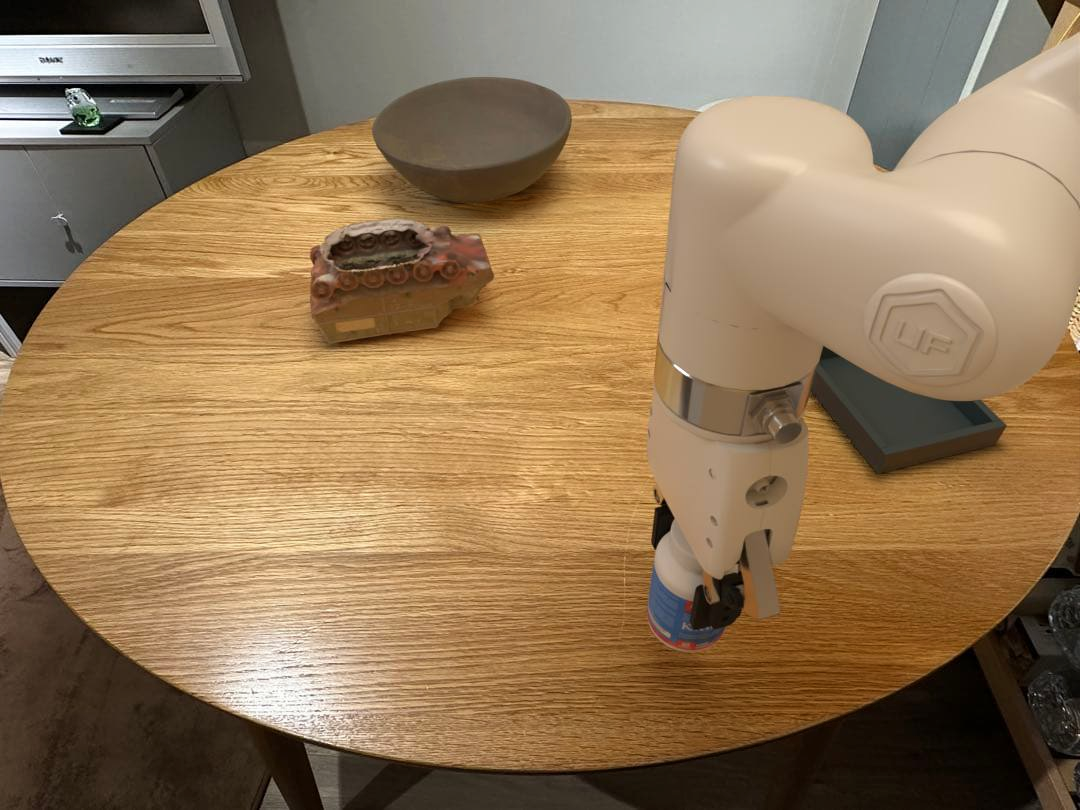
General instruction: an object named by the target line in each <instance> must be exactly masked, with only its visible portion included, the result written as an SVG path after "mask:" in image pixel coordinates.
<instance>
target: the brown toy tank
mask: <svg viewBox="0 0 1080 810" xmlns="http://www.w3.org/2000/svg"><path fill="white" fill-rule="evenodd" d="M323 241H324V242H322V243H321V244H317V245H315V246H313V247H311V248H310V252H309V259H310V261H311V263H312V268H311V269H310V285H309V286H310V290H309V292H310V296H309V302H310V304H309V305H310V314H311V315H310V316H311V319H312V320H314V322H315V324H316V325H317V327H318V328H319V330H320V332H321V333H322V334H323V338H324V340H325V341H326V342H327V343H328V344H330V345H332V344H335V343H341V342H348V341H355V340H359V339H365V338H373V337H379V336H384V335H385V336H386V335H388V336H389V335H392V334H399V333H406V332H414V331H420V330H427V329H428V330H429V329H434V328H436V329H437V328H438V327H439V326H440V323H441V322H442V320H443V319H444V318H447V317H448V316H449V315H450V314H452V312H453V310H456V309H463V308H469V307H471V306H474V305H475V304H476V303H477V302H478V301H480V296H479V294H480V292H481V291H482V289H483V288H485V287H487V285H488V284H490V283H491V282H492V281H494V278H495V274H494V271H493V269H492V265H491V263H490V259H489V256H488V254H487V251H486V250H487V249H486V248H485V246H484V242H483V239H482V235H480V233H467V234H466V233H465V234H458V235H454V234H452V229H450V227H449V226H448V225H447V224H440V225H437V226H430V227H429V226H427V225H425V223H424V222H420V221H418V220H415V219H409V218H406V217H405V218H402V217H391V218H380V219H376V220H364V221H360V222H355V223H352V224H349V225H343V226H342V227H339V228H338V229H335V230H334V231H331V232H330V233H329V234H328V235H326V236H325V237H324V240H323Z"/></svg>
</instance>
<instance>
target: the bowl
mask: <svg viewBox="0 0 1080 810" xmlns="http://www.w3.org/2000/svg"><path fill="white" fill-rule="evenodd" d="M572 120H573V116H572V109H571V107H570V105H569V104H568V102H567V101H566V99H565V98H563V97H562V96H561V95H560V94H559V93H557V92H556V91H555V90H552V89H550V88H548V87H545V86H543V85H539V84H537V83H534V82H531V81H527V80H523V79H518V78H510V77H501V76H500V77H498V76H471V77H460V78H459V77H458V78H453V79H447V80H443V81H439V82H436V83H431V84H427V85H425V86H422V87H419V88H416V89H413V90H411V91H409V92H407V93H405V94H403V95H401V96H399V97H397V99H394V100H393V101H391V103H389V104H388V105H387V106H386V107H384V109H382V111H380V112H379V114H378V115H377V116H376V118H375V119H374V121H373V123H372V127H371V134H372V138H373V140H374V143H375V145H376V147H377V149H378V150H379V152H380V153H381V155H382V156H383V158H384V159H385V161H387V163H388V164H389V165H390V166H391V167H392V168H393V169H394V170H395V171H396V172H397V173H398V174H399V175H400V176H401V177H402V178H403V179H405V180H406V181H407V182H408V183H410V184H411V185H413V186H414V187H416V188H417V189H419V190H422V191H423V192H425V193H427V194H429V195H431V196H434V197H437V198H439V199H441V200H445V201H448V202H452V203H455V204H465V205H466V204H467V205H469V204H471V205H472V204H474V205H475V204H483V203H488V202H493V201H498V200H501V199H505V198H507V197H510V196H513V195H516V194H517V193H519V192H522V191H524V190H525V189H527V188H528V187H530V186H531V185H533V184H535V183H536V182H537V181H538V180H539V179H540V178H541V177H542V176H543V175H545V173H546V172H547V171H548V170H549V169H550V168H551V167H552V165H553V164H554V163H555V162H556V161H557V159H558V157H559V156H560V155H561V153H562V152H563V149H564V147H565V146H566V144H567V141H568V139H569V135H570V131H571V128H572V122H573V121H572Z"/></svg>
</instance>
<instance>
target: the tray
mask: <svg viewBox="0 0 1080 810" xmlns="http://www.w3.org/2000/svg"><path fill="white" fill-rule="evenodd" d="M811 392H812V394H813V395H814V397H815V398H816V399H817V400H818V401H819V402H820V405H822V407H823V408H824V409H825V410H826V411H827V413H828V414H829V415H830V417H831V418H832V419H833V420H834V422H835V423H836V424H837V425H838V427H839V428H840V429H841V430H842V432H843V433H844V434H845V436H846V437H847V438H848V439H849V441H850V442H851V444H853V446H854V447H855V448H856V449H857V451H858V452H859V453H860V455H861V456H862V457H863V458H864V459H865V460H866V462H867V463H868V464H869V466H870V467H871V468H872V470H874V472H875V473H876V474H877V475H879V474H883V473H887V472H891V471H895V470H899V469H903V468H907V467H911V466H916V465H919V464H924V463H929V462H931V461H935V460H936V461H937V460H940V459H944V458H947V457H952V456H955V455H960V454H963V453H967V452H968V453H969V452H972V451H976V450H981V449H983V448H984V449H985V448H988V447H991V446H992V447H993V446H996V445H997V443H998V441H999V440H1000V438H1001V437H1002V435H1003V433H1004V432H1005V430H1006V428H1007V427H1008V425H1007V424H1006V423H1005V422H1004V421H1003V420H1002V419H1001V418H1000V417H999V416H998V415H997V414H996V413H995V412H994V411H993V410H992V409H991V408H990V406H989V407H988V405H987V404H986V403H985V402H984V401H983V400H982V399H981V400H974V401H950V400H942V399H935V398H931V397H928V396H924V395H920V394H916V393H913V392H909V391H907V390H905V389H902V388H900V387H898V386H895V385H893V384H890V383H888V382H886V381H884V380H882V379H880V378H878V377H876V376H874V375H872V374H871V373H869V372H867V371H865V370H863V369H862V368H860V367H858V366H857V365H855V364H853V363H851V362H850V361H848V360H846V359H845V358H843V357H841V356H840V355H838V354H836V353H835V352H833V351H831V350H830V349H828V348H826V347H825V346H823V349H822V352H821V356H820V361H819V364H818V368H817V371H816V375H815V378H814V382H813V385H812V389H811Z"/></svg>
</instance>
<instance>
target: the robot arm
mask: <svg viewBox="0 0 1080 810" xmlns="http://www.w3.org/2000/svg"><path fill="white" fill-rule="evenodd" d="M870 141H871V140H870V139H869V137H868V135H867V133H866V131H865V130H864V128H863V127H862V126H861V125H860V124H858V122H857V121H855V120H854V118H852V117H851V116H850V115H848V114H847V113H846V112H843V111H842V110H839V109H837V108H835V107H833V106H830V105H828V104H825V103H822V102H819V101H814V100H811V99H808V98H807V99H806V98H801V97H794V96H786V95H770V94H769V95H766V94H765V95H750V96H742V97H735V98H731V99H727V100H724V101H721V102H719V103H716V104H714V105H712V106H710V107H708V108H707V109H705V110H703V111H701V112H700V113H699V114H697V115H696V116H695V117H694V118H693V119H692V120H691V121H690V122H689V123H688V124H687V126H686V127H685V129H684V131H683V132H682V134H681V136H680V138H679V141H678V145H677V146H676V150H675V156H674V157H675V158H674V164H673V169H672V170H673V171H672V181H671V192H670V202H669V211H668V222H667V223H668V224H667V233H666V242H665V243H666V245H665V253H664V265H663V274H662V286H661V297H660V308H659V318H658V328H657V330H658V331H657V339H656V340H657V341H656V350H655V360H654V370H653V381H652V389H653V391H652V396H651V403H650V408H649V414H648V423H647V431H646V432H647V433H646V460H647V463H648V466H649V469H650V472H651V474H652V476H653V478H654V481H655V484H654V486H653V489H652V493H653V498H654V501H655V503H656V505H658V506H656V507H654V512H653V521H652V530H651V531H652V532H651V538H650V539H651V540H650V543H651V546H652V548H653V550H655V551H656V548H657V546H658V544H659V542H660V540H661V539H662V538H663V537H664V536H665V535H666V534H667V533H668V532H669V531H671V526H672V523H673V521H674V519H676V521H677V523H678V525H679V527H680V529H681V531H682V533H683V535H684V536H685V538H686V540H687V542H688V544H689V546H690V547H691V549H692V551H693V553H694V555H695V557H696V558H697V560H698V562H699V563H700V565H701V566H702V575H703V584H702V585H699V586H697V587H696V589H695V594H694V600H693V605H692V610H691V615H690V624H691V626H692V628H693V630H699V629H703V628H706V627H710V626H712V628H713V629H719V628H723V627H725V628H727V627H729V626H731V625H733V624H734V623H735V622H736V620H737V619H739V618H740V617H741V614H742V611H743V613H744V614H746V615H747V616H749V617H750V618H752V619H753V620H755V621H757V622H758V621H763V620H765V619H768V618H772V617H776V616H780V614H781V605H780V599H779V595H778V590H777V585H776V580H775V575H774V570H773V567H775V566H777V565H780V564H783V563H786V562H787V560H788V558H789V557H790V554H791V552H792V548H793V547H794V543H795V538H796V535H797V533H798V532H797V531H798V527H799V523H800V519H801V513H802V509H803V505H804V504H803V503H804V498H805V493H806V488H807V478H808V470H809V456H810V455H809V454H810V452H809V451H810V442H809V441H810V439H809V437H810V436H809V431H810V430H809V428H808V427H809V426H808V425H807V424H806V422H805V419H804V418H803V417H804V415H805V414H806V413H805V412H806V409H807V406H808V402H809V399H810V395H811V392H812V391H811V389H812V385H813V382H814V378H815V375H816V371H817V368H818V364H819V361H820V356H821V352H822V349H823V346H825V347H826V348H828V349H830V350H831V351H833V352H835V353H836V354H838V355H840V356H841V357H843V358H845V359H846V360H848V361H850V362H851V363H853V364H855V365H857V366H858V367H860V368H862V369H863V370H865V371H867V372H869V373H871V374H872V375H874V376H876V377H878V378H880V379H882V380H884V381H886V382H888V383H890V384H893V385H895V386H898V387H900V388H902V389H905V390H907V391H909V392H913V393H916V394H920V395H924V396H928V397H931V398H935V399H942V400H950V401H974V400H981V401H982V400H986V399H991V398H995V397H998V396H1001V395H1005V394H1006V393H1009V392H1011V391H1013V390H1015V389H1017V388H1019V387H1020V386H1022V385H1024V384H1025V383H1026V382H1028V381H1029V380H1031V379H1032V378H1033V377H1035V376H1036V375H1037V374H1039V372H1040V371H1041V370H1042V369H1043V368H1044V367H1046V365H1047V364H1048V363H1049V361H1050V360H1052V358H1053V356H1054V355H1055V353H1056V352H1057V350H1058V349H1059V348H1060V345H1061V343H1062V341H1063V339H1064V336H1065V334H1066V332H1067V330H1068V329H1069V325H1070V322H1071V318H1072V315H1073V311H1074V308H1075V305H1076V301H1077V297H1078V293H1079V290H1080V31H1079V32H1077V33H1075V34H1073V35H1072V36H1069V37H1068V38H1067V39H1064V40H1063V41H1060V42H1059V43H1057V44H1055V45H1054V46H1052V47H1050V48H1048V49H1047V50H1045V51H1042V52H1041V53H1039V54H1037V55H1035V56H1034V57H1032V58H1030V59H1029V60H1027V61H1026V62H1024V63H1022V64H1020V65H1018V66H1016V67H1015V68H1013V69H1011V70H1009V71H1007V72H1006V73H1004V74H1002V75H1001V76H999V77H997V78H995V79H994V80H992V81H990V82H988V83H987V84H985V85H984V86H982V87H980V88H979V89H977V90H976V91H974V92H972V93H970V94H969V95H967V96H965V97H964V98H962V99H961V100H960V101H958V102H957V103H955V104H954V105H953V106H952V107H949V108H948V109H947V110H945V112H943V113H942V114H941V115H939V116H938V117H937V118H936V119H935V120H934V121H932V123H930V124H929V125H928V126H927V127H926V128H925V129H924V130H923V131H922V132H921V134H919V136H917V138H916V139H915V140H914V142H913V143H912V144H911V145H910V147H909V148H908V149H907V151H906V152H905V153H904V155H903V156H902V157H901V158H900V160H899V161H898V163H897V164H896V166H895V167H894V169H893V170H892V171H886V172H885V171H881V170H878V169H877V168H876V167H875V166H874V164H875V163H874V154H873V149H872V145H871V142H870ZM735 564H738V573H735V572H734V573H731V574H727V575H724V574H725V571H729V570H731V569H732V568H733V566H734V565H735Z"/></svg>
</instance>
